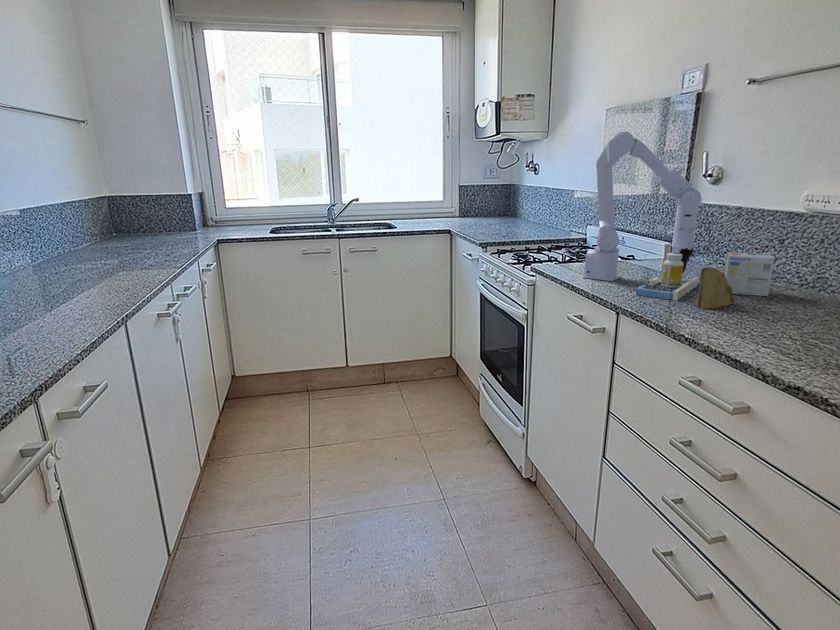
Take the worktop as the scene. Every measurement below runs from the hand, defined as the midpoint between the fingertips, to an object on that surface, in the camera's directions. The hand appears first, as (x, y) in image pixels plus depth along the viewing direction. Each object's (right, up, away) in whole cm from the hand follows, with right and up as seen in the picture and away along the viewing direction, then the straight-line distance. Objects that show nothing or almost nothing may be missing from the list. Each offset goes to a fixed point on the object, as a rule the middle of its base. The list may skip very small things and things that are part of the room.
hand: (679, 273), depth 155 cm
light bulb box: (+11, -7, -14) cm, 19 cm away
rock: (-4, -11, -26) cm, 28 cm away
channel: (-9, -5, -9) cm, 14 cm away
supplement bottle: (-5, -4, -5) cm, 8 cm away
